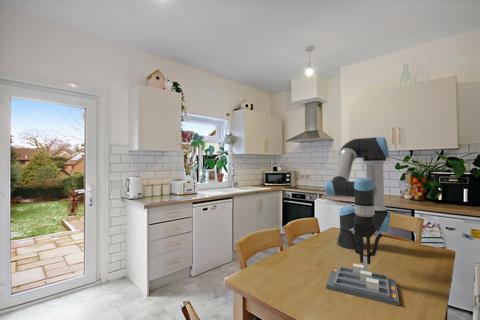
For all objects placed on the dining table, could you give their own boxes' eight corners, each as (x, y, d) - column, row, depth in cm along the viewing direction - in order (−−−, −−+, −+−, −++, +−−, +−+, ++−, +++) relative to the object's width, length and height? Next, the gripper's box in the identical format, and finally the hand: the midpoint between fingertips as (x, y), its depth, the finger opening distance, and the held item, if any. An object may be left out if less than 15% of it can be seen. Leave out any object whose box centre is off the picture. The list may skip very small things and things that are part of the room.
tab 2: (360, 280, 97) (360, 270, 97) (371, 282, 95) (371, 272, 95) (360, 283, 94) (360, 273, 94) (371, 285, 92) (371, 275, 92)
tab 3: (366, 288, 90) (366, 277, 90) (378, 290, 88) (378, 279, 88) (366, 291, 88) (366, 280, 88) (378, 294, 86) (378, 283, 86)
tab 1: (353, 272, 103) (353, 263, 103) (363, 274, 101) (363, 265, 101) (352, 275, 101) (352, 265, 101) (363, 277, 99) (363, 267, 99)
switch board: (333, 270, 109) (332, 264, 109) (395, 283, 97) (395, 276, 97) (326, 288, 93) (326, 281, 93) (399, 306, 81) (399, 298, 81)
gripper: (346, 215, 100) (347, 271, 100) (382, 218, 94) (383, 278, 93) (348, 212, 107) (349, 264, 106) (381, 214, 100) (383, 270, 100)
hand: (365, 271), depth 100 cm, fingers closed
